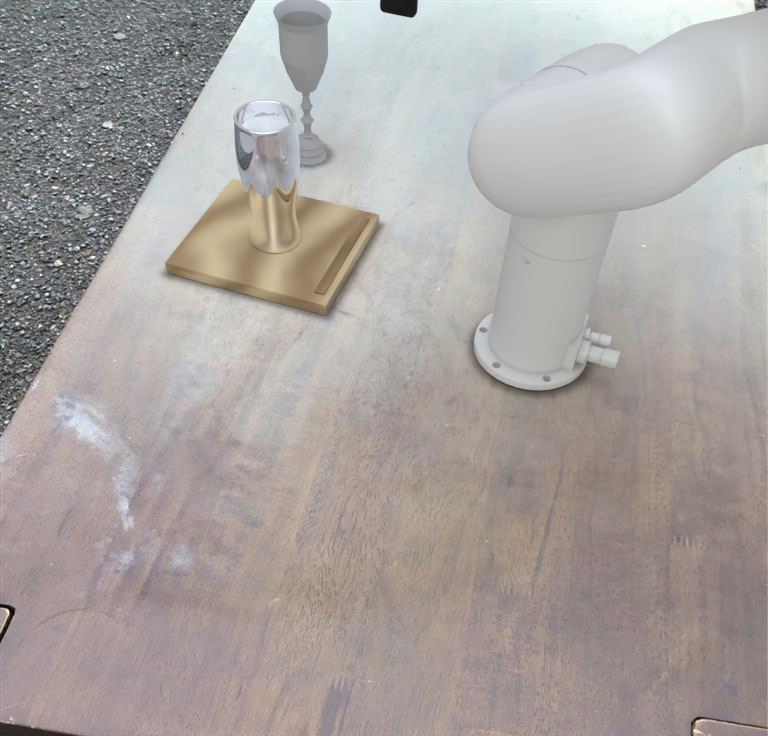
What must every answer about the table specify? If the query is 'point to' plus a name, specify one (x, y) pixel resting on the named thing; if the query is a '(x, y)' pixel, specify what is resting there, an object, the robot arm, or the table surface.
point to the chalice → (304, 61)
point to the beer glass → (269, 172)
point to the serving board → (275, 270)
